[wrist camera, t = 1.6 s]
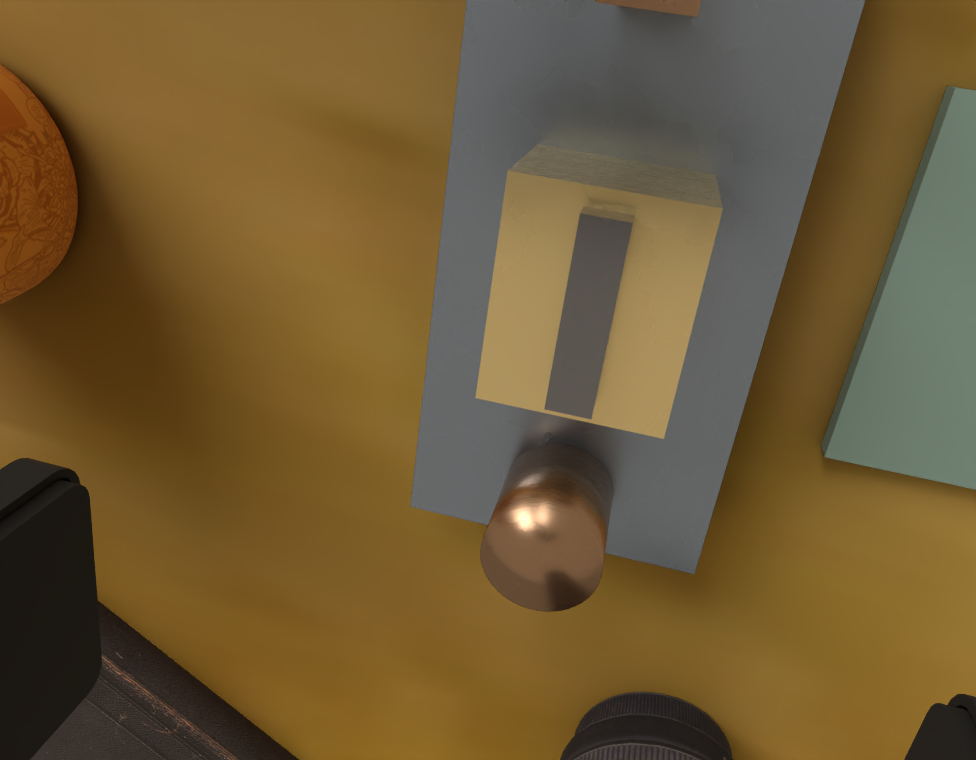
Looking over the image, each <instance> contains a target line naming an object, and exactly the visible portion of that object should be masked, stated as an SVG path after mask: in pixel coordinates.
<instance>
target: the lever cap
mask: <svg viewBox="0 0 976 760" xmlns="http://www.w3.org/2000/svg"><path fill="white" fill-rule="evenodd" d="M722 210H723V207H722V203H721V198H720V193H719V189H718V184H717V180H716V175H713V174H707V173H701V172H696V171H690V170H684V169H678V168H672V167H667V166H661V165H655V164H649V163H643V162H637V161H632V160H626V159H620V158H614V157H608V156H603V155H597V154H591V153H585V152H579V151H574V150H568V149H562V148H556V147H550V146H545V145H539V144H537V145H536V146H535V147H534V148H533V149H532V150H531V151H529V152H528V153H527V154H526V155H525V156H524V157H523V158H521V159H520V160H519V161H518V162H517V163H516V164H515V165H513V166H512V167H511V168H510V169H509V170H508V172H507V179H506V186H505V193H504V200H503V207H502V214H501V221H500V228H499V235H498V242H497V249H496V256H495V263H494V270H493V278H492V285H491V292H490V299H489V306H488V313H487V320H486V327H485V334H484V341H483V348H482V355H481V362H480V369H479V376H478V383H477V390H476V397H475V398H478V399H482V400H487V401H492V402H496V403H501V404H505V405H510V406H515V407H519V408H524V409H528V410H533V411H538V412H542V413H547V414H551V415H556V416H561V417H565V418H570V419H574V420H579V421H584V422H588V423H593V424H597V425H602V426H607V427H611V428H616V429H621V430H625V431H630V432H634V433H639V434H644V435H648V436H653V437H657V438H662V439H664V436H665V433H666V429H667V425H668V421H669V417H670V413H671V409H672V405H673V401H674V397H675V394H676V390H677V386H678V382H679V378H680V374H681V370H682V366H683V362H684V358H685V354H686V351H687V347H688V343H689V339H690V335H691V331H692V327H693V323H694V319H695V315H696V311H697V308H698V304H699V300H700V296H701V292H702V288H703V284H704V280H705V276H706V272H707V269H708V265H709V261H710V257H711V253H712V249H713V245H714V241H715V237H716V233H717V229H718V226H719V222H720V218H721V214H722Z"/></svg>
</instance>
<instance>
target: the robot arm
mask: <svg viewBox="0 0 976 760" xmlns="http://www.w3.org/2000/svg"><path fill="white" fill-rule="evenodd" d="M101 666H102V653H101V640H100V627H99V614H98V601H97V588H96V575H95V562H94V549H93V536H92V522H91V509H90V497H89V493H88V490H87V489H86V487H84V486H82V485H80V481H79V477H78V476H77V474H76V473H75V472H74V471H72V470H70V469H68V468H64V467H60V466H56V465H53V464H49V463H45V462H41V461H37V460H33V459H29V458H21V459H18V460H15V461H13V462H11V463H10V464H8V465H7V466H5V467H3V468H2V469H0V760H30V759H31V758H32V757H33V756H34V755H35V754H36V753H37V751H38V750H39V749H40V748H41V747H42V746H43V745H44V744H45V742H46V741H47V740H48V739H49V738H50V737H51V736H52V735H53V733H54V732H55V731H56V730H57V729H58V728H59V727H60V726H61V724H62V723H63V722H64V721H65V720H66V719H67V718H68V717H69V715H70V714H71V713H72V712H73V711H74V710H75V709H76V708H77V706H78V705H79V704H80V703H81V702H82V701H83V700H84V699H85V697H86V696H87V695H88V694H89V693H90V691H91V690H92V689H93V687H94V685H95V683H96V681H97V679H98V677H99V674H100V670H101ZM904 760H976V697H974V696H970V695H966V694H957V695H956V696H955V697H953V698H952V699H951V700H950V702H949V703H948V705H945V704H941V703H935V704H934V705H933V706H931V708H930V709H929V711H928V712H927V714H926V716H925V718H924V720H923V722H922V724H921V727H920V729H919V731H918V733H917V735H916V737H915V739H914V741H913V743H912V745H911V747H910V749H909V751H908V753H907V755H906V757H905V759H904Z"/></svg>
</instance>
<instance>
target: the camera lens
mask: <svg viewBox="0 0 976 760" xmlns="http://www.w3.org/2000/svg"><path fill="white" fill-rule="evenodd" d="M560 760H733V759H732V754H731V749H730V746H729V743H728V741H727V738H726V736H725V735H724V734H723V732H722V731H721V729H720V728H719V726H718V725H717V724H716V723H715V722H714V721H713V720H712V719H711V718H710V717H709V716H708V715H707V714H706V713H704V712H703V711H701V710H700V709H698V708H697V707H695V706H693V705H692V704H690V703H688V702H686V701H683V700H681V699H678V698H675V697H671V696H668V695H664V694H659V693H650V692H632V693H626V694H621V695H617V696H613V697H611V698H608V699H606V700H604V701H602V702H600V703H598V704H597V705H595V706H594V707H592V708H591V709H590V711H589V712H588V713H587V714H586V715H585V716H584V717H583V718H582V720H581V721H580V723H579V725H578V727H577V730H576V732H575V736H574V738H573V739H572V740H571V741H570V742H569V744H568V745H567V746H566V748H565V750H564V751H563V754H562V756H561V759H560Z"/></svg>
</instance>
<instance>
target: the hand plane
mask: <svg viewBox="0 0 976 760" xmlns="http://www.w3.org/2000/svg"><path fill="white" fill-rule="evenodd" d="M864 3H865V0H467V3H466V12H465V21H464V30H463V39H462V48H461V57H460V66H459V75H458V84H457V93H456V102H455V111H454V120H453V129H452V138H451V147H450V156H449V165H448V174H447V183H446V192H445V201H444V210H443V219H442V228H441V237H440V246H439V255H438V264H437V273H436V282H435V291H434V300H433V309H432V318H431V327H430V335H429V344H428V353H427V362H426V371H425V380H424V389H423V398H422V407H421V416H420V425H419V434H418V443H417V452H416V461H415V470H414V479H413V488H412V497H411V506H410V507H414V508H418V509H422V510H426V511H431V512H435V513H439V514H443V515H447V516H452V517H456V518H460V519H464V520H468V521H473V522H477V523H481V524H485V525H488V527H487V529H486V532H485V535H484V537H483V540H482V544H481V551H480V556H481V563H482V567H483V570H484V572H485V574H486V576H487V578H488V580H489V581H490V583H491V584H492V585H493V586H494V588H495V589H496V590H497V591H498V592H499V593H501V594H502V595H503V596H504V597H506V598H507V599H508V600H510V601H512V602H514V603H515V604H518V605H520V606H522V607H525V608H528V609H532V610H537V611H546V612H548V611H561V610H565V609H569V608H572V607H574V606H577V605H578V604H580V603H582V602H583V601H585V600H586V599H587V598H589V597H590V596H591V595H592V594H593V592H594V591H595V589H596V588H597V586H598V584H599V582H600V579H601V576H602V570H603V563H604V556H605V553H607V554H611V555H615V556H620V557H624V558H628V559H632V560H636V561H641V562H645V563H649V564H653V565H657V566H662V567H666V568H670V569H674V570H678V571H683V572H687V573H691V574H695V571H696V567H697V564H698V560H699V557H700V554H701V550H702V547H703V544H704V540H705V537H706V534H707V530H708V527H709V524H710V520H711V517H712V513H713V510H714V507H715V503H716V500H717V497H718V493H719V490H720V487H721V483H722V480H723V476H724V473H725V470H726V466H727V463H728V460H729V456H730V453H731V450H732V446H733V443H734V440H735V436H736V433H737V429H738V426H739V423H740V419H741V416H742V413H743V409H744V406H745V403H746V399H747V396H748V393H749V389H750V386H751V382H752V379H753V376H754V372H755V369H756V366H757V362H758V359H759V356H760V352H761V349H762V346H763V342H764V339H765V335H766V332H767V329H768V325H769V322H770V319H771V315H772V312H773V309H774V305H775V302H776V298H777V295H778V292H779V288H780V285H781V282H782V278H783V275H784V272H785V268H786V265H787V262H788V258H789V255H790V251H791V248H792V245H793V241H794V238H795V235H796V231H797V228H798V225H799V221H800V218H801V215H802V211H803V208H804V204H805V201H806V198H807V194H808V191H809V188H810V184H811V181H812V178H813V174H814V171H815V167H816V164H817V161H818V157H819V154H820V151H821V147H822V144H823V141H824V137H825V134H826V131H827V127H828V124H829V120H830V117H831V114H832V110H833V107H834V104H835V100H836V97H837V94H838V90H839V87H840V84H841V80H842V77H843V73H844V70H845V67H846V63H847V60H848V57H849V53H850V50H851V47H852V43H853V40H854V36H855V33H856V30H857V26H858V23H859V20H860V16H861V13H862V10H863V6H864ZM537 144H539V145H545V146H550V147H556V148H562V149H568V150H574V151H579V152H585V153H591V154H597V155H603V156H608V157H614V158H620V159H626V160H632V161H637V162H643V163H649V164H655V165H661V166H667V167H672V168H678V169H684V170H690V171H696V172H701V173H707V174H713V175H716V180H717V184H718V189H719V193H720V198H721V203H722V207H723V210H722V214H721V218H720V222H719V226H718V229H717V233H716V237H715V241H714V245H713V249H712V253H711V257H710V261H709V265H708V269H707V272H706V276H705V280H704V284H703V288H702V292H701V296H700V300H699V304H698V308H697V311H696V315H695V319H694V323H693V327H692V331H691V335H690V339H689V343H688V347H687V351H686V354H685V358H684V362H683V366H682V370H681V374H680V378H679V382H678V386H677V390H676V394H675V397H674V401H673V405H672V409H671V413H670V417H669V421H668V425H667V429H666V433H665V436H664V439H662V438H657V437H653V436H648V435H644V434H639V433H634V432H630V431H625V430H621V429H616V428H611V427H607V426H602V425H597V424H593V423H588V422H584V421H579V420H574V419H570V418H565V417H561V416H556V415H551V414H547V413H542V412H538V411H533V410H528V409H524V408H519V407H515V406H510V405H505V404H501V403H496V402H492V401H487V400H482V399H478V398H475V397H476V390H477V383H478V376H479V369H480V362H481V355H482V348H483V341H484V334H485V327H486V320H487V313H488V306H489V299H490V292H491V285H492V278H493V270H494V263H495V256H496V249H497V242H498V235H499V228H500V221H501V214H502V207H503V200H504V193H505V186H506V179H507V172H508V170H509V169H510V168H511V167H512V166H513V165H515V164H516V163H517V162H518V161H519V160H520V159H521V158H523V157H524V156H525V155H526V154H527V153H528V152H529V151H531V150H532V149H533V148H534V147H535V146H536V145H537Z"/></svg>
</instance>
